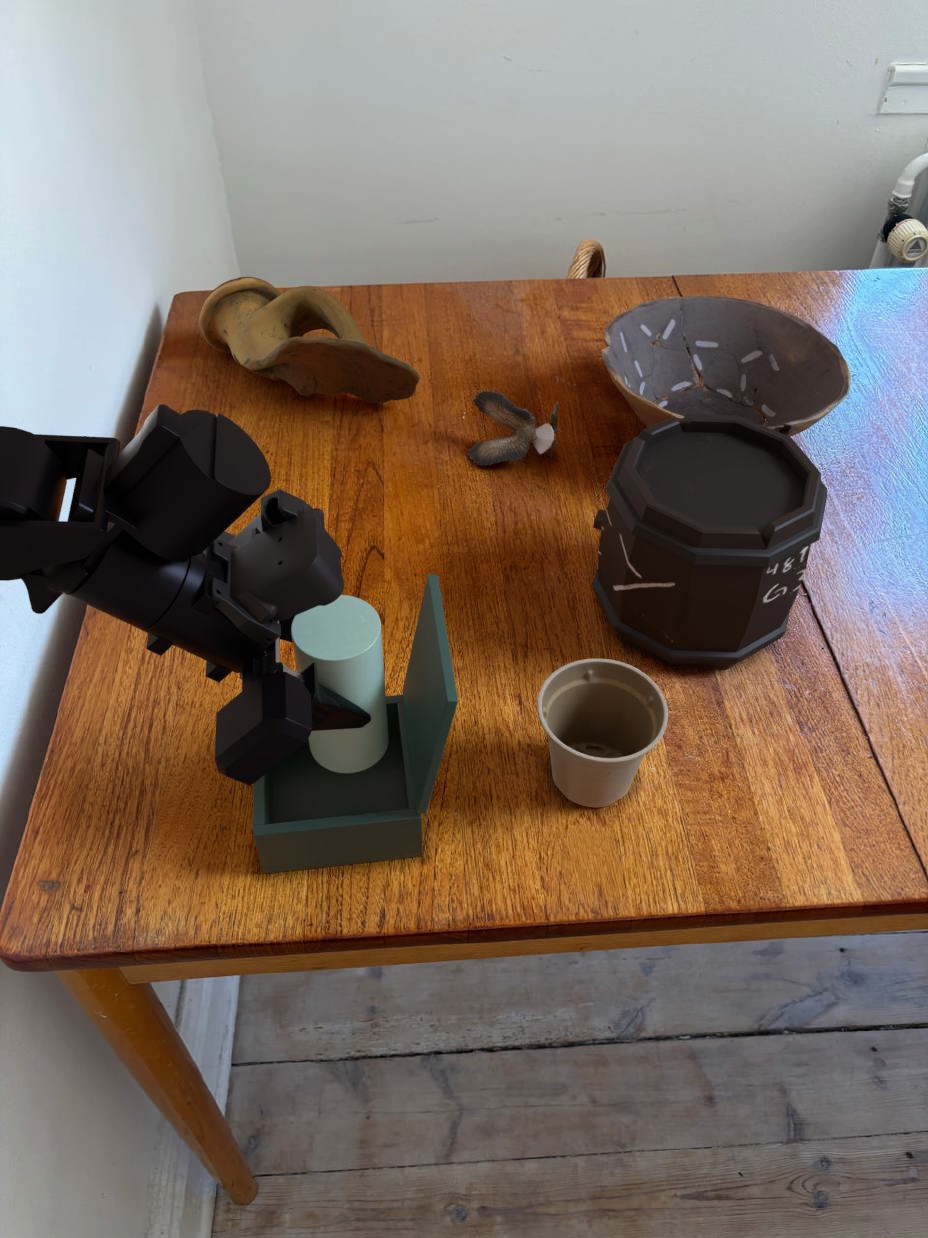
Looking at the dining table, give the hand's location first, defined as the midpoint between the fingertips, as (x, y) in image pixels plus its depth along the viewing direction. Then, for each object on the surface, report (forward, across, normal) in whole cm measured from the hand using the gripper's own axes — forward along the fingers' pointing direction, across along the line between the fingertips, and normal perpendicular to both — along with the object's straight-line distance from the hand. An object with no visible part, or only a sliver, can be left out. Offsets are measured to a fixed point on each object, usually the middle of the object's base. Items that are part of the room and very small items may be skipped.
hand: (363, 687), depth 68 cm
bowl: (+37, +42, -18) cm, 59 cm away
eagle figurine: (+22, +41, -3) cm, 47 cm away
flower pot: (+22, 0, -2) cm, 22 cm away
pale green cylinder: (+3, 0, +5) cm, 6 cm away
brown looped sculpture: (+7, +56, +12) cm, 58 cm away
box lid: (+4, 0, -2) cm, 4 cm away
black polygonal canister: (+30, +17, -11) cm, 37 cm away
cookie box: (+8, 0, +11) cm, 14 cm away
